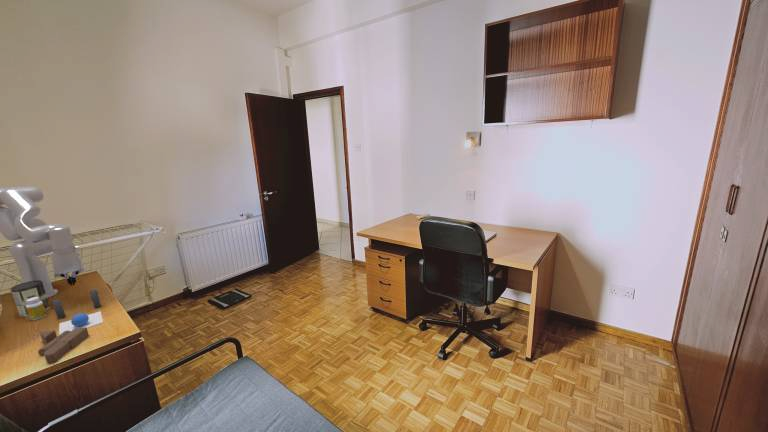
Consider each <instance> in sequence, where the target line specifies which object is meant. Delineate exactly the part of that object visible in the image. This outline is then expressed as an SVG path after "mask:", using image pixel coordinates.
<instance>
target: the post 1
mask: <svg viewBox="0 0 768 432" xmlns="http://www.w3.org/2000/svg"><path fill="white" fill-rule="evenodd" d="M51 302H52V306H53V308H54V312H55V314H56V319H57V320H61V319H64V318H66V314H65V313H66V312H65V311H64V307H63V303H62V299H61V298H57V299H53V300H52V301H51Z"/></svg>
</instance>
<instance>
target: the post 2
mask: <svg viewBox="0 0 768 432" xmlns="http://www.w3.org/2000/svg"><path fill="white" fill-rule="evenodd" d="M89 294H90V297H91V301H92V305H93V308H94V309H100V308H101V307H102V304H101V301H100V300H101V299H100V296H99V292H98V289H92V290H90V291H89Z"/></svg>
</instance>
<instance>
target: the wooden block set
mask: <svg viewBox="0 0 768 432" xmlns="http://www.w3.org/2000/svg"><path fill="white" fill-rule="evenodd" d="M39 334H40V337H41V341H42V343H43V344H44V345H43V346H42V347H41V348H40V349H38V350H37V352H38V353H37V354H38V355H40V356H41V357H44V358H45V361H46V363H47V364H50V363H51V364H55V363H56V362H58V361H59V360H60V359H62V357H64V356H65V355H66V354H67V353H69V352H70V351H71V350H73V349H75V348H76V347H78V346H79V345H80V344H81V343H82V342H83V341H85V340H86V339H87V338H88V337H90V335H89V331H88V328H86V327H85V328H76V329H73V330H72V331H64V332H63V333H62V334H60V335H59V334H58V335H57V333H56V330H54V329H53V330H46V331H45V330H44V331H39Z"/></svg>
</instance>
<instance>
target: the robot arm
mask: <svg viewBox="0 0 768 432" xmlns="http://www.w3.org/2000/svg"><path fill="white" fill-rule="evenodd" d="M43 200H44V193H43V191H42V190H41V189H40V188H38V187H36V186H32V185H17V186H9V187H0V234H1V235H2V236H3V237H4V238H5V239H6V240H7V241H10V242H12V241H13V242H14V243H12V244H11V245H10V246H9V248H8V252H9V254H10V256H11V257H12V259H13V261H14V263H15V264H16V265H15V266H16V267H17V271H18V274H19V276H20V279H21V281H22V283H25V282H29V281H36V280H41V281H42V282H43V286H44V289H45V293H46V296H47V299H48V298H52V297H54V296H56V295H57V294H58V293H59V290H58V289H57V288H53V285H52V282H51V281H52V280H51V278H50V275H49V271H48V269H47V265H46V262H44V260H41V259H39V258H37V257H39V256H44V255H46V254H50V253H52V254H51V264H52V268H53V270H52V271H53V274H54V276H53V277H55V278H59V277H62V278H63V279H65V280H66V281H67V285H70V286H71V287H72V286H75V285H76V283H77V280H76V276H78V274H80V273H82V272H84V271H85V268H84V267H83V266H84V265H83V261H82V257H81V256H80V253H79V251H78V249H80V248H79V245H75V244H74V240H73V236H72V231H71V228H70V227H69V226H68V225H64V224H61V223H59V222H55V223H54V222H53V223H49V224H47V223H46V222H45V221H44V220H42V219H40V218H36V217H37V216H39V215H40V213H41V207H40V206H38V204H36V203H39V202H41V201H43ZM18 240H19V241H18ZM15 241H17V242H15ZM70 273H71V276H70V275H69V274H70Z"/></svg>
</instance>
